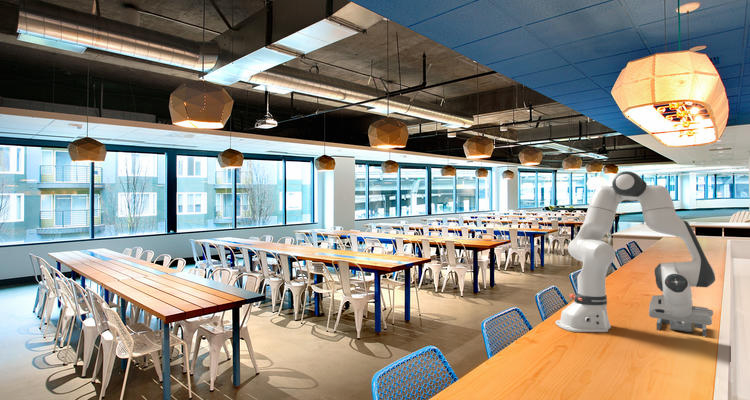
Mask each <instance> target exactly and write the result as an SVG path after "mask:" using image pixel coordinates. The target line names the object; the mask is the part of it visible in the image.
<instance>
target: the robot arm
mask: <svg viewBox="0 0 750 400" xmlns="http://www.w3.org/2000/svg"><path fill="white" fill-rule="evenodd" d="M611 183H612V184H611V186H608V185H602V186H598V187H597V188H595V191H593V194H592V196H591V198H590V201H589V203H588V208H587V211H586V214H585V218H584V220H583V223H582V225H581V227H580V229H579V231H578V232H577V234H576V235H575V237H574V238H573V239H572V240H571V241H570V242H569V243H568V245H567V251H568V254H569V255H570V256H571V257H572V258H574V259H575V260H577V261H578V262H579V261H580V262H582V267H581V271H580V272H579V274H578V275H577V281H576V282H577V292H576V294H573V293H570V294H569V298H571V299H573V302H572V303H571V304H569V305H568V306H566V307H565V308H564V309H562V311H561V315H560V319H557V320H555V325H556V326H557V327H559V328H561V329H563V330H566V331H568V332H573V333H574V332H576V333H582V332H583V333H608V332H609V330H610V329H611V328H612V327H611V323H610V320H609V314H608V310H607V309H608V308H607V306H608V296H607V294H606V293H607V291H606V277H607V272H608V270H609V267H610V265H611V264H612V263H613V262H614V261H615V258H616V250H615V249H614V247H613V246H612V245H611V244H609V243H607V242H605V241H603V239H604V237H605V236H606V235H607V233H610V231H611V230H612V227H613V224H614V222H615V221H614V220H615V217H616V212H617V209H618V206H619V204H620V203H623V204H624V203H633V202H635V203H637V202H639V203H640V207H641V211H642V217H643V220H644V223H645V225H646V226H647V228H649V229H650V230H652V231H655V232H657V233H659V234H660V233H661V234H665V235H668V236H669V235H670V236H674V237H677V238H679V239H680V240H682V241H683V242H684V243H685V246H686V247H687V250H688V252H689V254H690V257H691V258H692V260H690V261H677V262H676V261H675V262H670V261H669V262H662V263H661V262H659V263H658V264H657V265H656V267H655V268H654V277H655V284H656V287H657V288H658V289H659V290H660V291H661V292H662V295H661V294H659V295H652V296H651V301H650V302H649V304H648V305H649V306H648V316H649V317H650V318H653V319H658V318H659V319H667V320H672V321H673V322H675V324H676V325H682V326H684V324H686V323H687V322H689V323H696V324H704V325H706V326H711V325H713V315H714V312H713V310H712V309H709V308H708V307H703V306H696V305H695V306H694V305H693V294H692V291H693V290H692V288H693V287H695V288H709V287H711V286H712V284H714V283H715V281H716V273H715V271H714V269H713V267H712V265H711V264H710V262H709V261H708V259H707V257H706V255H705V253H704V250H703V248H702V246H701V243H700V242H699V240H698V238H697V236H696V234H695V232H694V229H693V228H692V226H691V225H690V223H689V222H688V221H687V220H683V219H682V218H681V217H680V216H679V215H678V214H677V212H676V208H675V205H674V202H673V199H672V196H671V194H670V192H669V190H668V188H666V187H665V186H663V185H657V184H656V185H655V184H654V185H647V182H646V181H645V180H644V179H643V178H641V176H640V175H639V174H637V173H636V172H633V171H628V170H627V171H625V170H624V171H621V172H618V173H617V174H616V175H615V176H614V177H613V180H612V182H611Z"/></svg>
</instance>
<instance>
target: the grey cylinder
mask: <svg viewBox="0 0 750 400" xmlns="http://www.w3.org/2000/svg"><path fill="white" fill-rule="evenodd" d="M669 329H670V330H674V331H680V332H685V333H694V332H695V329H696V328H695V323H689V322H687V323H686V324H684V326H682V325H676V324H675V322H673V321H672V320H670V324H669Z"/></svg>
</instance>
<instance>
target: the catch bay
mask: <svg viewBox="0 0 750 400" xmlns="http://www.w3.org/2000/svg"><path fill="white" fill-rule="evenodd" d="M663 324H667V325H670V320H667V319H659V318H657V320H656V323H655V325H656V331H661V329H662V326H663ZM695 327H697V328H696V329H701V330H702V333H701V334H702V337H703V336H705V337H704V338H707V325H704V324H696V323H695Z"/></svg>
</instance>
